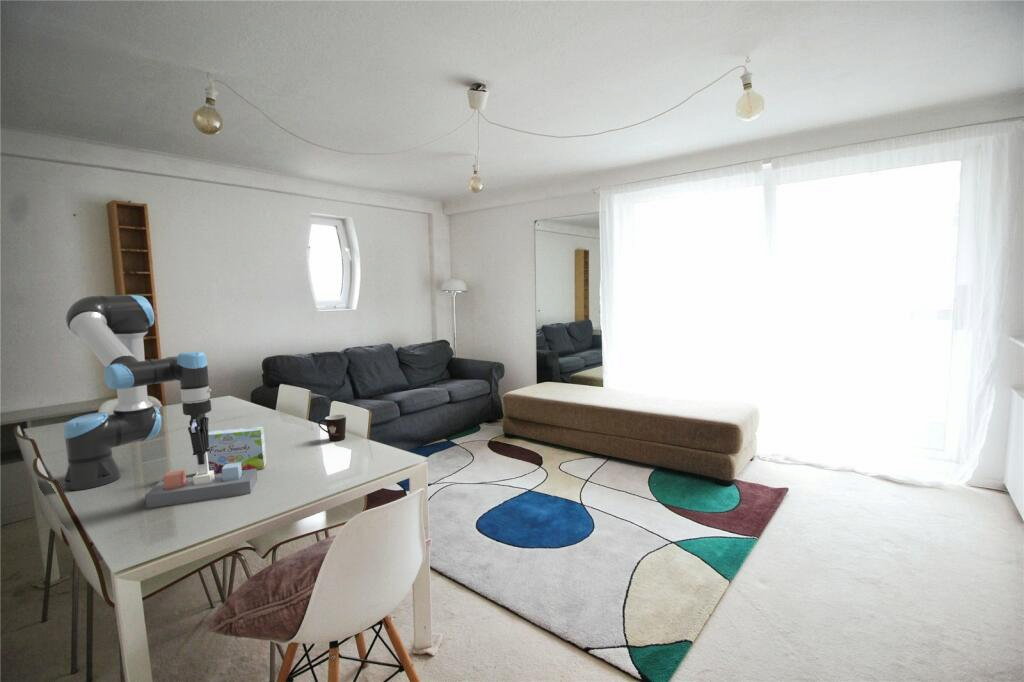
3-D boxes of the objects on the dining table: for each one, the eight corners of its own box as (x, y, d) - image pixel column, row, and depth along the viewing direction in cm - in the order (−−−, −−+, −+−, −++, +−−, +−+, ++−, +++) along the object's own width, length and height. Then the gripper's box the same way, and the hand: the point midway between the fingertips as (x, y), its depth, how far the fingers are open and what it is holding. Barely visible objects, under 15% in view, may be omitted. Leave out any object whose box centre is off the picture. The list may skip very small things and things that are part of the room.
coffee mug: (351, 438, 211) (350, 415, 210) (335, 443, 204) (333, 420, 203) (334, 434, 217) (333, 412, 216) (318, 439, 210) (316, 417, 209)
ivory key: (194, 490, 152) (193, 477, 152) (198, 485, 156) (197, 472, 156) (211, 488, 154) (210, 475, 153) (215, 483, 158) (213, 470, 157)
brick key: (164, 490, 149) (162, 476, 149) (169, 484, 154) (168, 471, 153) (181, 487, 151) (180, 474, 150) (186, 482, 155) (184, 469, 155)
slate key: (222, 482, 154) (221, 468, 154) (226, 477, 159) (225, 464, 158) (239, 480, 156) (237, 466, 156) (242, 475, 160) (240, 462, 160)
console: (146, 508, 145) (145, 495, 145) (161, 493, 156) (160, 481, 156) (250, 493, 154) (249, 481, 154) (257, 479, 165) (256, 468, 165)
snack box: (197, 477, 170) (193, 435, 168) (203, 471, 175) (199, 431, 174) (264, 469, 175) (260, 429, 174) (267, 464, 181) (264, 425, 179)
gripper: (204, 403, 147) (211, 478, 150) (215, 395, 160) (222, 464, 162) (175, 406, 145) (183, 482, 147) (189, 397, 157) (196, 468, 159)
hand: (203, 472), depth 155 cm, fingers closed
